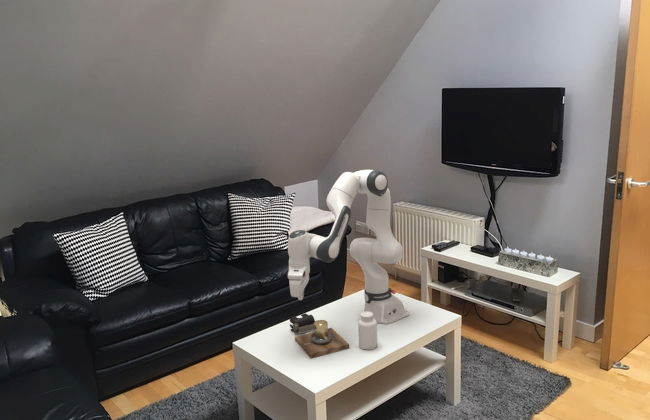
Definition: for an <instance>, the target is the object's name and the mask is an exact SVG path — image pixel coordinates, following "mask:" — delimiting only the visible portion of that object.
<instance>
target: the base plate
mask: <svg viewBox="0 0 650 420" xmlns="http://www.w3.org/2000/svg"><path fill="white" fill-rule="evenodd" d="M328 332H329V333H330V334H331V335H332V341H331V342H330V343H329V344H326V345H315V344H313V343H312V342H311V335H312V334H313V333H314V331H313V332H308V333H304V334H300V335H295V336H294V341H295V343H297V345H298V346H299V347H300V348H301V349H302V350H303V351H304V353H305V354H307V356H308V357H309V359H315V358H318V357H322V356H325V355H330V354H333V353H337V352H340V351H341V352H342V351H344V350H345V351H346V350H348V349H350V343H349V342H348V341H347V340H345V339H344V338H343V337H342V336H341V335H340V334H339V333H338V332H337V331H336V330H334V328H332V327H328Z"/></svg>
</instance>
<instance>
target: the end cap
mask: <svg viewBox="0 0 650 420" xmlns="http://www.w3.org/2000/svg"><path fill="white" fill-rule="evenodd" d="M300 316H301V317H297V316H292V317H290V318H289V322H290V323H289V327H290V331H291V332H292V333H293V324H295V323H298V324H299V327H302V326H306V325H310V324H314V322H315V321H316V320H315V317H314V315H312V314H307V313H302V314H300Z"/></svg>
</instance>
